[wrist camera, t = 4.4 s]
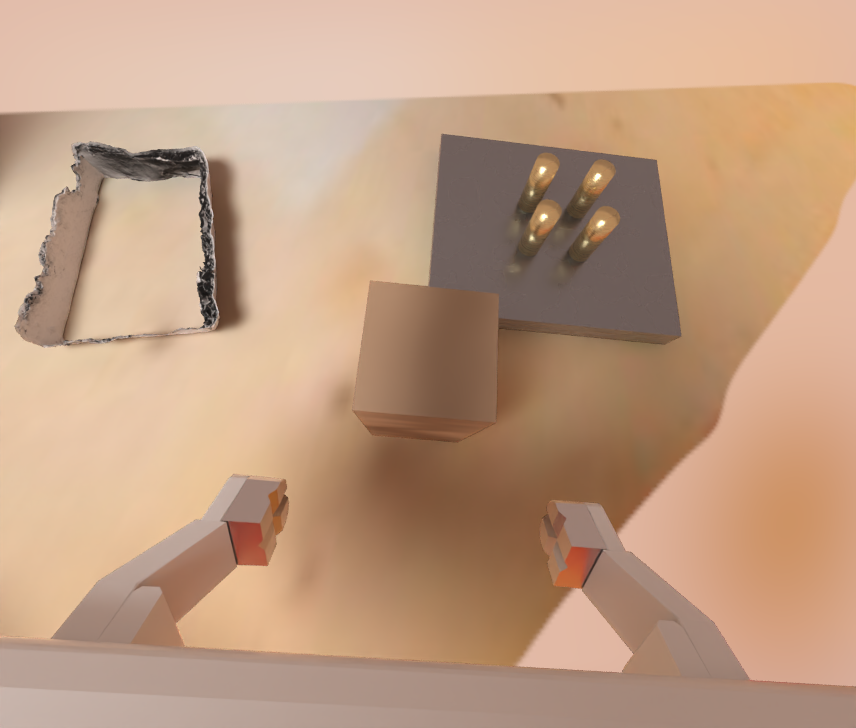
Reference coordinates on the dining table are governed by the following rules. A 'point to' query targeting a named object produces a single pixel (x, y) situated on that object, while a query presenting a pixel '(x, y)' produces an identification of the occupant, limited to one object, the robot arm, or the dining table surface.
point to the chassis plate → (555, 238)
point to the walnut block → (427, 362)
